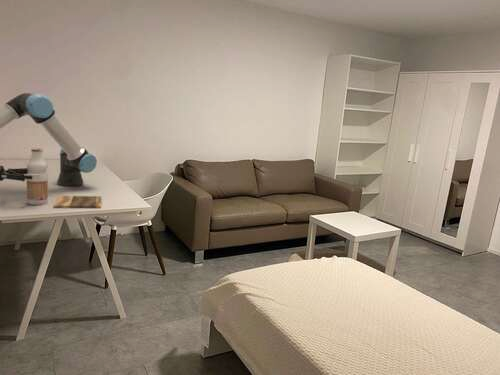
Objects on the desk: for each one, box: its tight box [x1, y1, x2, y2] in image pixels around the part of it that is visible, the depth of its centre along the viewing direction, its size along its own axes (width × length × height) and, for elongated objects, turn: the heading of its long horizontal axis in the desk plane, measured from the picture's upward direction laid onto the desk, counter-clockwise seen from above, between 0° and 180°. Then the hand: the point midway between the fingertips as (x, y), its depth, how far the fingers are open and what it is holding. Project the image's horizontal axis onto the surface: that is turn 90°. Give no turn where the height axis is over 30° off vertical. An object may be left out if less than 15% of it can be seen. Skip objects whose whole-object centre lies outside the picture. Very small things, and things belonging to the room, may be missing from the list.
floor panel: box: [53, 195, 102, 209], centre depth 202 cm, size 22×20×1 cm
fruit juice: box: [26, 147, 49, 206], centre depth 193 cm, size 9×9×28 cm
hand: (42, 174), depth 193 cm, fingers open, 13 cm apart
